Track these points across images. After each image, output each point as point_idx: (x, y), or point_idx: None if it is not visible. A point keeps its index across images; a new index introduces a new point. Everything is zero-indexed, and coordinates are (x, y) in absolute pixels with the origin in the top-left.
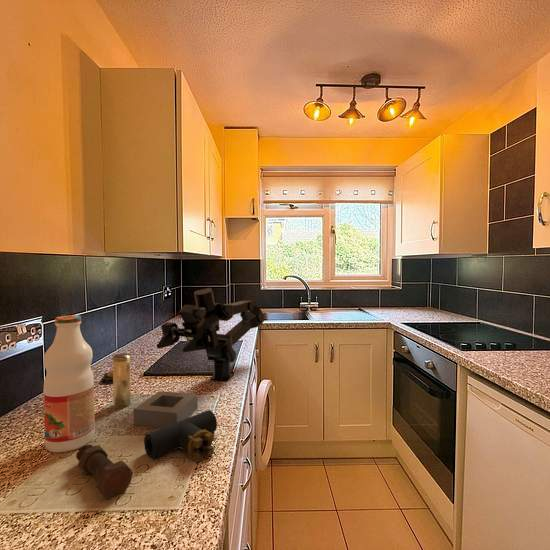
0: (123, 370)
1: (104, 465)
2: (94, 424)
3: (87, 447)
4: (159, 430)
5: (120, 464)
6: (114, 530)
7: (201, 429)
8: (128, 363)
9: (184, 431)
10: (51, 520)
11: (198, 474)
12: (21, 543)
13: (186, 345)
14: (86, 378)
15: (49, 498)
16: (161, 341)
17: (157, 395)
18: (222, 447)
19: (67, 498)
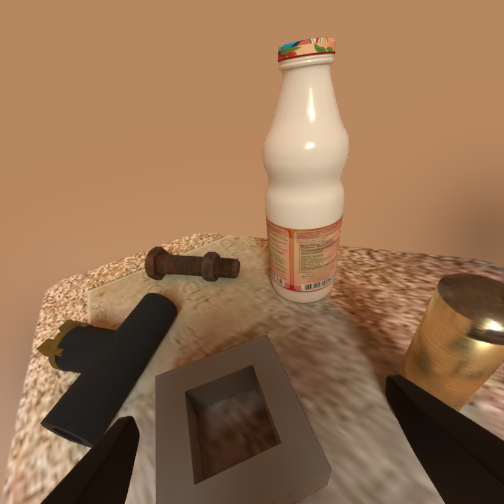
0: (420, 328)
1: (174, 255)
2: (286, 286)
3: (225, 260)
4: (144, 305)
5: (148, 254)
6: (135, 260)
7: (65, 347)
8: (440, 332)
9: (101, 330)
10: (189, 245)
11: None
12: (190, 235)
13: (96, 456)
14: (267, 198)
15: (214, 249)
16: (428, 415)
17: (293, 429)
18: (42, 397)
19: (199, 255)
